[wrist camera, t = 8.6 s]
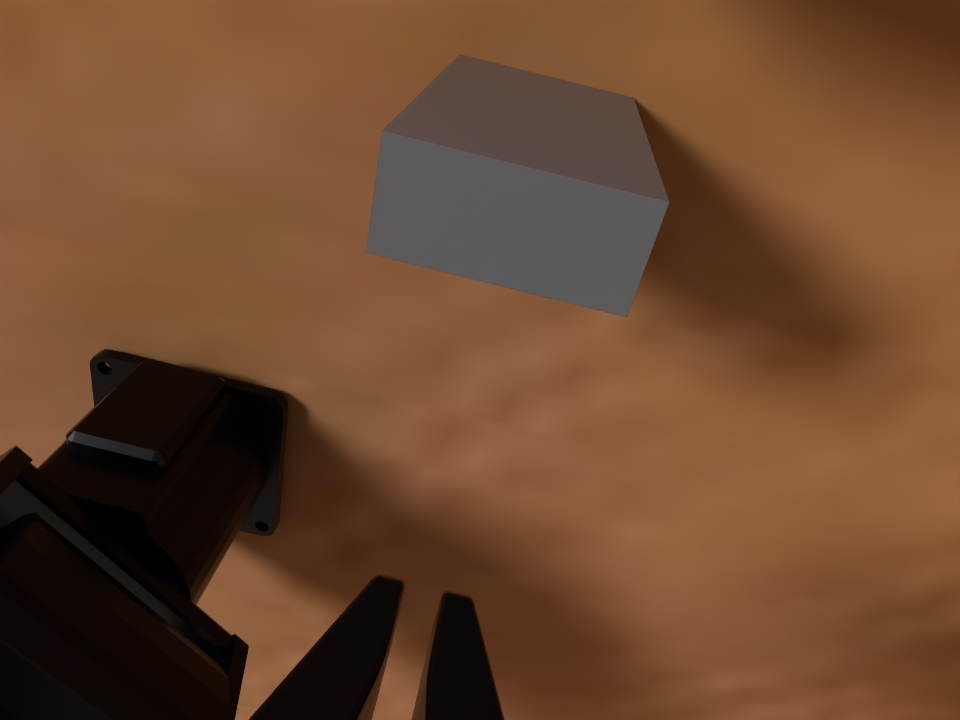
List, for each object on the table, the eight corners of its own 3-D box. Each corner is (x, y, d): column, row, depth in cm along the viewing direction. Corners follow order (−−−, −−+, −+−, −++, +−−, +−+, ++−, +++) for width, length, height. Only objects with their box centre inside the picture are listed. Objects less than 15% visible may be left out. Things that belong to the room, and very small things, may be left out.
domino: (608, 176, 18) (627, 317, 11) (445, 135, 18) (366, 252, 11) (633, 98, 17) (669, 202, 10) (460, 54, 17) (382, 130, 10)
